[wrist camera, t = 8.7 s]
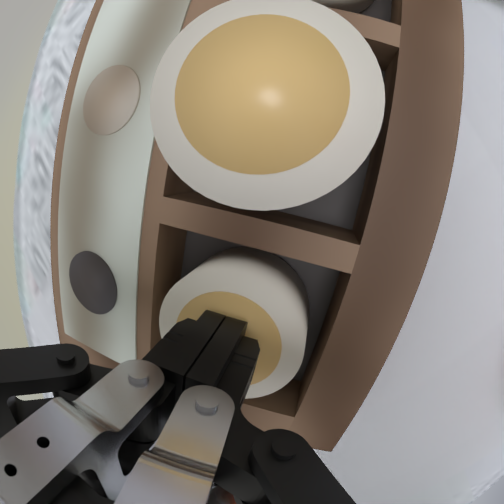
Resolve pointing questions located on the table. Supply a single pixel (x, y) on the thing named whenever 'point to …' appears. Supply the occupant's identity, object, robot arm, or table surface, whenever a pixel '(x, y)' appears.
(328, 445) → the wooden candle tray
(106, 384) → the robot arm
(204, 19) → the button mid
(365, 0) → the button
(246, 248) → the button
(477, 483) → the table surface
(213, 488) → the lucky cat figurine
